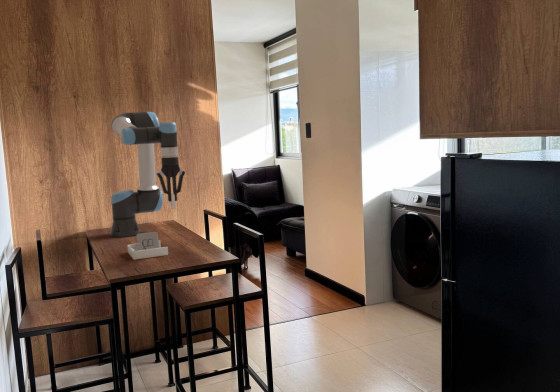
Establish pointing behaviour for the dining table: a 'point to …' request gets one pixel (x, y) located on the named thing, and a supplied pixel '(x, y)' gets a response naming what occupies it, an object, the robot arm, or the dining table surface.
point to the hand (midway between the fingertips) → (173, 208)
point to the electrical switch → (147, 240)
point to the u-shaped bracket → (146, 251)
